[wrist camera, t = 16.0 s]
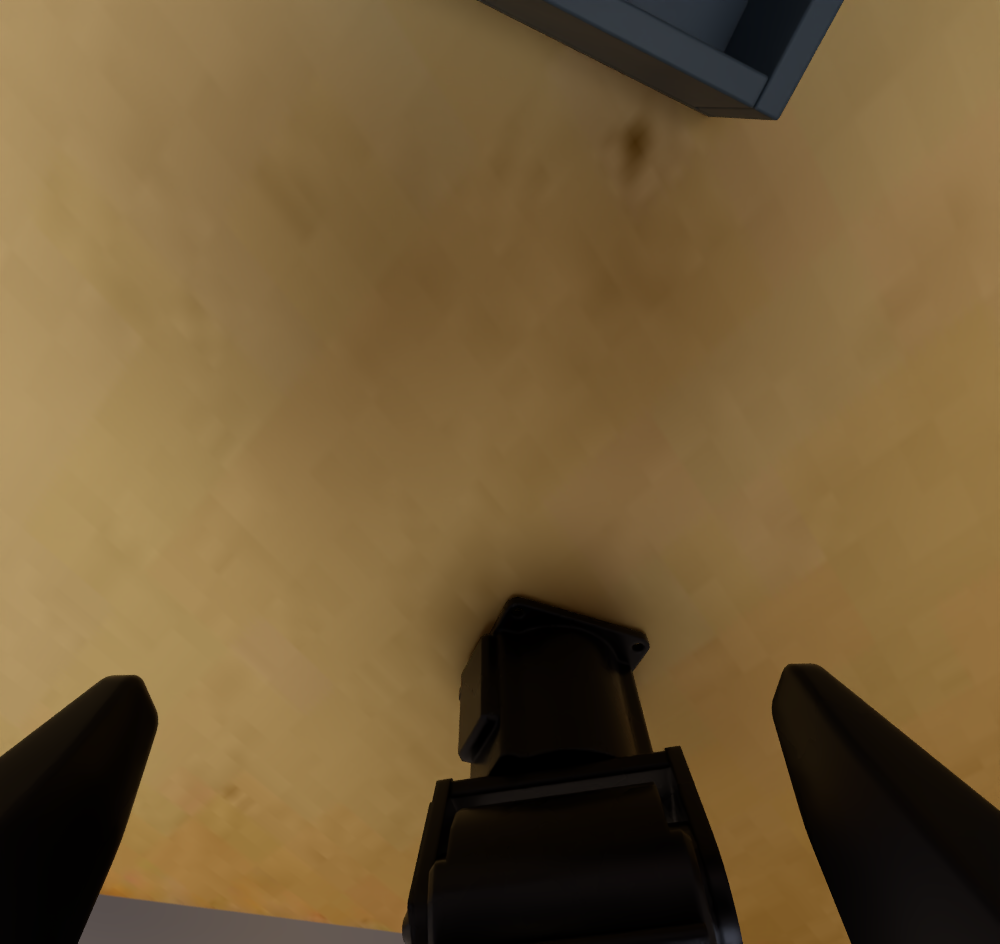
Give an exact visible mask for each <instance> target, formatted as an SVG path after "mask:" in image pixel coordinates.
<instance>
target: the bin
mask: <svg viewBox="0 0 1000 944" xmlns="http://www.w3.org/2000/svg"><path fill="white" fill-rule="evenodd" d="M478 1H480V2H482V3H484V4H486V5H488V6H490V7H492V8H493V9H495V10H497V11H499V12H501V13H503V14H505V15H507V16H509V17H511V18H513V19H515V20H517V21H519V22H521V23H523V24H525V25H527V26H529V27H531V28H533V29H535V30H537V31H539V32H541V33H543V34H545V35H547V36H549V37H551V38H553V39H555V40H557V41H559V42H561V43H563V44H565V45H567V46H569V47H571V48H573V49H575V50H577V51H579V52H581V53H583V54H585V55H587V56H589V57H591V58H593V59H595V60H597V61H599V62H601V63H603V64H605V65H607V66H609V67H611V68H613V69H615V70H617V71H619V72H621V73H623V74H625V75H627V76H629V77H631V78H633V79H635V80H637V81H639V82H641V83H643V84H645V85H647V86H649V87H651V88H653V89H655V90H656V91H658V92H660V93H662V94H664V95H666V96H668V97H670V98H672V99H674V100H676V101H678V102H680V103H682V104H684V105H686V106H688V107H690V108H692V109H694V110H696V111H698V112H700V113H702V114H704V115H706V116H708V117H725V118H742V119H760V120H778V119H779V117H780V116H781V114H782V112H783V110H784V108H785V107H786V105H787V103H788V101H789V99H790V97H791V96H792V94H793V92H794V90H795V88H796V87H797V85H798V83H799V81H800V79H801V77H802V76H803V74H804V72H805V70H806V68H807V66H808V65H809V63H810V61H811V59H812V57H813V56H814V54H815V52H816V50H817V48H818V46H819V45H820V43H821V41H822V39H823V37H824V36H825V34H826V32H827V30H828V28H829V26H830V25H831V23H832V21H833V19H834V17H835V15H836V14H837V12H838V10H839V8H840V6H841V5H842V3H843V1H844V0H478Z"/></svg>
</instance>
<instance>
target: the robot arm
mask: <svg viewBox="0 0 1000 944" xmlns="http://www.w3.org/2000/svg"><path fill="white" fill-rule="evenodd" d="M517 608H519V609H522V610H519V611H515V610H514V609H517ZM636 643H639V644H636ZM649 647H650V646H649V641H648V638H647V636H646V635H645V634H644V633H642V632H639V631H635V630H632V629H628V628H625V627H621V626H618V625H615V624H611V623H608V622H604V621H601V620H597V619H594V618H591V617H587V616H584V615H580V614H577V613H573V612H570V611H567V610H563V609H560V608H556V607H553V606H549V605H546V604H543V603H539V602H536V601H532V600H529V599H525V598H522V597H514V598H511V599H510V600H508V601H507V603H506V604H505V606H504V608H503V610H502V612H501V613H500V615H499V617H498V619H497V621H496V623H495V624H494V626H493V628H492V630H491V632H490V634H486V635H484V636H483V637H481V639H480V640H479V642H478V644H477V646H476V648H475V650H474V652H473V654H472V655H471V657H470V659H469V661H468V663H467V665H466V667H465V669H464V670H463V672H462V676H461V687H460V690H459V700H460V721H459V743H458V754H459V756H460V758H461V760H462V761H465V762H469V763H471V773H470V779H464V780H457V781H453V779H452V778H451V779H444V780H438V781H437V782H436V786H435V791H434V795H433V800H432V802H430V804H429V809H428V813H427V818H426V822H425V827H424V831H423V835H422V840H421V844H420V849H419V853H418V858H417V862H416V867H415V871H414V876H413V880H412V885H411V889H410V893H409V898H408V907H407V909H408V910H407V913H406V915H405V917H404V920H403V925H402V935H403V940H404V942H405V944H743V942H742V937H741V932H740V927H739V923H738V918H737V914H736V910H735V905H734V902H733V898H732V894H731V890H730V886H729V883H728V879H727V875H726V872H725V868H724V865H723V862H722V859H721V855H720V852H719V849H718V846H717V843H716V841H715V838H714V835H713V832H712V830H711V827H710V824H709V821H708V819H707V816H706V813H705V811H704V808H703V805H702V803H701V800H700V797H699V795H698V792H697V789H696V787H695V784H694V781H693V779H692V776H691V773H690V771H689V768H688V765H687V763H686V760H685V757H684V755H683V752H682V749H681V747H680V746H675V747H668V748H665V751H660V752H653V750H652V746H651V742H650V739H649V735H648V731H647V727H646V723H645V719H644V715H643V711H642V707H641V703H640V700H639V696H638V692H637V688H636V684H635V680H634V676H633V670H634V669H635V668H636V666H637V665H638V664H639V662H640V661H641V659H642V658H643V657H644V655H645V654H646V653H647V651H648V650H649ZM772 716H773V720H774V724H775V727H776V731H777V734H778V737H779V741H780V744H781V748H782V751H783V755H784V758H785V761H786V765H787V768H788V772H789V775H790V779H791V782H792V786H793V789H794V792H795V796H796V799H797V803H798V806H799V810H800V813H801V816H802V819H803V822H804V825H805V829H806V831H807V834H808V836H809V839H810V842H811V844H812V847H813V850H814V852H815V855H816V857H817V860H818V862H819V865H820V867H821V869H822V872H823V874H824V877H825V879H826V882H827V884H828V887H829V889H830V892H831V894H832V897H833V899H834V902H835V904H836V907H837V909H838V912H839V914H840V917H841V919H842V922H843V924H844V927H845V929H846V932H847V934H848V936H849V939H850V941H851V944H1000V811H999V810H998V809H997V808H996V807H994V806H993V805H992V804H991V803H989V802H988V801H987V800H986V799H984V798H983V797H982V796H981V795H979V794H978V793H977V792H976V791H975V790H973V789H972V788H971V787H970V786H968V785H967V784H966V783H965V782H963V781H962V780H961V779H960V778H958V777H957V776H956V775H955V774H953V773H952V772H951V771H950V770H949V769H947V768H946V767H945V766H944V765H942V764H941V763H940V762H939V761H937V760H936V759H935V758H934V757H932V756H931V755H930V754H929V753H927V752H926V751H925V750H924V749H922V748H921V747H920V746H919V745H918V744H916V743H915V742H914V741H913V740H911V739H910V738H909V737H908V736H906V735H905V734H904V733H903V732H901V731H900V730H899V729H898V728H896V727H895V726H894V725H893V724H892V723H890V722H889V721H888V720H887V719H885V718H884V717H883V716H882V715H880V714H879V713H878V712H877V711H875V710H874V709H873V708H872V707H870V706H869V705H868V704H867V703H866V702H864V701H863V700H862V699H861V698H859V697H858V696H857V695H856V694H854V693H853V692H852V691H851V690H849V689H848V688H847V687H846V686H844V685H843V684H842V683H841V682H840V681H838V680H837V679H836V678H835V677H833V676H832V675H831V674H830V673H828V672H827V671H826V670H825V669H823V668H822V667H820V666H818V665H816V664H811V663H809V664H788V665H787V666H786V667H785V668H784V670H783V672H782V675H781V678H780V680H779V683H778V686H777V689H776V692H775V695H774V698H773V701H772ZM157 726H158V714H157V711H156V708H155V706H154V704H153V702H152V699H151V697H150V695H149V693H148V690H147V688H146V686H145V684H144V681H143V680H142V679H141V678H140V677H139V676H136V675H113V676H108V677H106V678H104V679H102V680H100V681H99V682H98V683H96V684H95V685H94V686H92V687H91V688H90V689H88V690H87V691H86V692H85V693H83V694H82V695H81V696H79V697H78V698H77V699H75V700H74V701H73V702H71V703H70V704H69V705H68V706H66V707H65V708H64V709H62V710H61V711H60V712H58V713H57V714H56V715H54V716H53V717H52V718H51V719H49V720H48V721H47V722H45V723H44V724H43V725H41V726H40V727H39V728H37V729H36V730H35V731H34V732H32V733H31V734H30V735H28V736H27V737H26V738H24V739H23V740H22V741H20V742H19V743H18V744H17V745H15V746H14V747H13V748H11V749H10V750H9V751H7V752H6V753H5V754H3V755H2V756H1V757H0V944H78V942H79V939H80V937H81V935H82V932H83V930H84V928H85V925H86V923H87V920H88V918H89V916H90V914H91V911H92V909H93V906H94V904H95V902H96V900H97V897H98V895H99V893H100V890H101V888H102V886H103V883H104V881H105V879H106V876H107V874H108V872H109V869H110V867H111V865H112V862H113V860H114V857H115V855H116V852H117V850H118V848H119V845H120V842H121V840H122V837H123V834H124V831H125V828H126V825H127V822H128V819H129V816H130V813H131V810H132V807H133V803H134V800H135V797H136V794H137V791H138V788H139V785H140V781H141V778H142V775H143V772H144V769H145V766H146V763H147V759H148V756H149V753H150V750H151V747H152V744H153V741H154V737H155V734H156V731H157Z"/></svg>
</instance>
